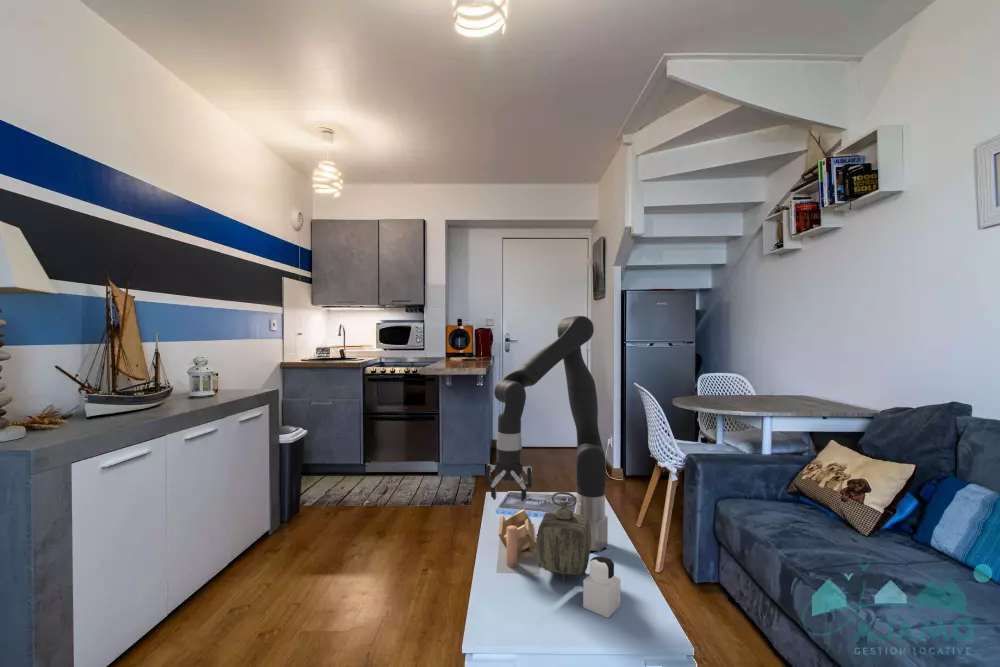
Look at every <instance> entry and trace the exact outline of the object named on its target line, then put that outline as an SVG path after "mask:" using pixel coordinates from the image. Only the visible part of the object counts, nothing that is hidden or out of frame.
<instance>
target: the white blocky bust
mask: <svg viewBox="0 0 1000 667" xmlns="http://www.w3.org/2000/svg"><path fill="white" fill-rule="evenodd" d="M589 560H590V561H589V575H588V576H587V577H585V578H584V579H583V581H582V608H584V609H586V610H589V611H590V612H593V613H595V614H596V615H597V614H598V615H600V616H602V617H605V618H606V619H608V618H610V617H611V616H612V614H614V612H616V610H617V609H618V608H619V607H620V606H621V578H620V577H617V576H615V563H614V561H613V560H612V559H610V558H609V557H607V556H602V555H601V556H594V557H592V558H591V559H589Z"/></svg>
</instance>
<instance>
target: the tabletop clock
mask: <svg viewBox="0 0 1000 667" xmlns="http://www.w3.org/2000/svg"><path fill="white" fill-rule="evenodd" d="M558 495H566V496H569V497H571V498H572V499H574V502H573V503H571V504H567V501H562V503H558V502H556V501H555V499H554V498H555V497H556V496H558ZM551 501H552V503H553V504H554V505H556V506H558V508H557V509H556V510H552V511H547V512H545V513H544V515H543V518H542V520H541V522H540V524H539V526H538V530H537V536H536V537H537V554H538V560H539V567H541V568H542V569H544V570H545V571H549V572H554V573H559V574H561V578H560V582H566V579H565V575H581V576H583V577H585V576H587V573H586V571H587V569H588V565H589V562H590V561H589V560H590V553H591V551H590V548H591V529H590V523H589V520H588V518H587V517H585V516H584V515H581V514H577V512H573V511H572V509H570V508H571V507H574V506H576V505H577V497H576V496H575V495H574V494H572V493H570V492H567V491H558V492H555V493H553V495H552V496H551Z"/></svg>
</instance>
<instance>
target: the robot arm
mask: <svg viewBox="0 0 1000 667" xmlns="http://www.w3.org/2000/svg"><path fill="white" fill-rule="evenodd" d="M594 330H595V329H594V324H593V321H592V320H591V319H590V318H589V317H587V316H584V315H576V316H575V315H574V316H569V317H565V318H562V319H561V320H560V322H559V323H558V325H557V339H556V340H555V341H554V340H553V342H552V343H550V344H548V345H547V346H545V347H543V348H542V349H540V350H538V351H537V352H536V353H534V354H533V355H532V356H531V357H529V359H527V360H526V361H525V362H524V363H523V364H522V365H521V366H520V367H518V368H517V369H515V370H514V371H511V372H510V373H508V374H507V375H506V376H504V377H503V378H501V379H500V380H499V381H498V382H497V384H496V385H495V386H494V391H493V392H494V393H493V394H494V397H495V399H496V400H497V401H498V402H500V403H503V404H504V409H503V411H502V412H500V413H499V414H498V417H497V435H496V445H495V446H496V464H495V465H494V464H491V463H487V465H486V467H485V478H484V485H486V486H489V487H490V497H491V498H492V499H493V500H494V501H495V500H496V499H497V485H498V483H499V482H500V481H501V480H503V481H510V482H514V481H516V483H517V484H518V485H519V486H520V487H521V490H520V491H521V492H520V495H521V496H520V497H521V498H520V500H521V502H525V500H526V499H527V489H529V488H532V487H533V467H532V465H531V464H530V465H528V466H523V464H522V453H523V452H522V450H523V449H522V448H523V446H522V444H523V443H522V442H523V441H522V440H523V439H522V417H523V413H524V410H525V408H524V407H525V404H526V399H527V395H526V390H525V388H527V387H532V386H535V385H536V384H537V383H538V382H539V381H540V380H541V379H542V378H543V377H544V376H545V375H546V374H548V373H549V372H550V371H551V370H552V369H553V368H554V367H555V366H557V364H558V363H560V362H561V361H562V360H563V364H564V371H565V379H566V387H567V395H568V402H569V408H570V412H571V415H572V417H573V421H574V426H575V429H576V444H577V445H576V447H577V448H576V450H577V451H576V500H577V502H576V513H577V514H581V515H584V516H585V517H587V518H588V520H589V523H590V529H591V548H590V552H591V551H593V552H597V553H598V552H601V551H602V550H603V549H605V548H606V547H607V546H608V543H609V542H608V539H609V538H608V537H609V536H608V533H609V532H608V530H609V529H608V523H609V522H608V518H609V517H608V516H607V515H606V486H607V485H606V482H607V477H606V475H607V473H606V470H607V461H606V454H605V449H604V447H603V443H602V440H601V435H600V431H599V430H600V429H599V423H598V422H599V421H598V419H599V418H598V417H599V416H598V414H599V408H598V395H597V394H598V393H597V387H596V381H595V379H594V377H593V375H592V374H591V372H590V370H589V368H588V366H587V364H586V363H585V361H584V357H583V354H582V349H581V348H582V346H583V345H584V344H586V343H587V342H588V341H590V339H592V337H593V335H594ZM493 471H495V472H496V473H497V475H496V476H495V477H494V479H493V480H491V476H492V474H491V473H493ZM522 472H524V474H525V475H527V482H526V481H525V480H524V478H523V476H522V475H521V473H522ZM604 547H605V548H604Z"/></svg>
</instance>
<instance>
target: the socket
mask: <svg viewBox="0 0 1000 667" xmlns="http://www.w3.org/2000/svg"><path fill="white" fill-rule="evenodd" d="M498 524H499V525H498V537H499V540H500V539H501V541H502V542H503V544H504V546H505V548H506V549H507V527H508V526H516V527H517V557H537V548H536V537H537V536H536V523H532V519H531V518H530V517H529V515H528V513H527V511H526V509H524V508H523V509H521V510H520V511H518V512H516V513H514V514H512V515H511V516H509V517H506V518H505V515H501V516H500V517H499V523H498Z"/></svg>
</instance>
